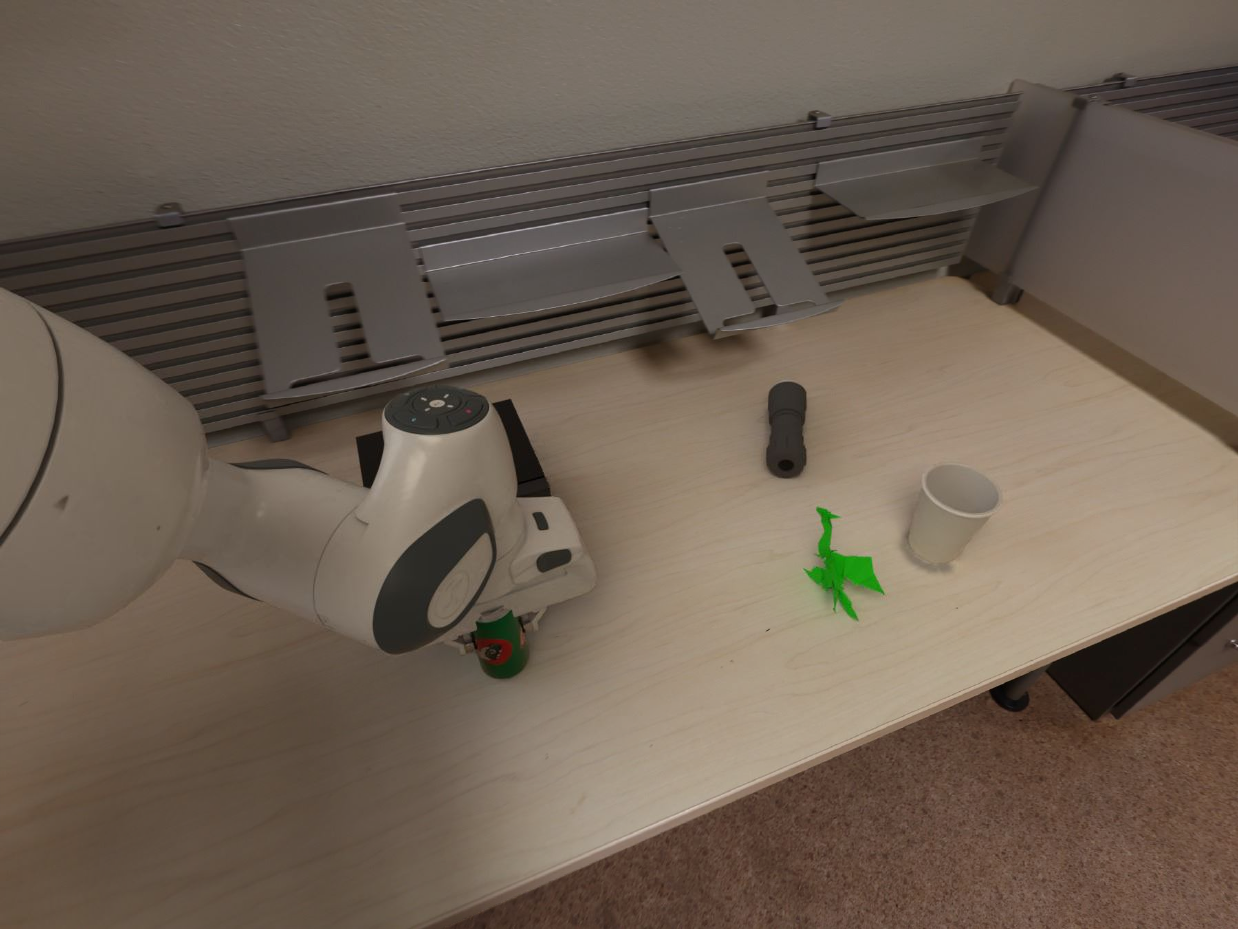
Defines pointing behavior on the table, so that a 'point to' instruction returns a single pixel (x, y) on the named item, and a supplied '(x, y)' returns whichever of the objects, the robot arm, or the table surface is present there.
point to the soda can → (500, 643)
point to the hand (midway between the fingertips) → (499, 636)
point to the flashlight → (786, 428)
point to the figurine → (841, 567)
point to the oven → (519, 442)
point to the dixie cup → (951, 510)
